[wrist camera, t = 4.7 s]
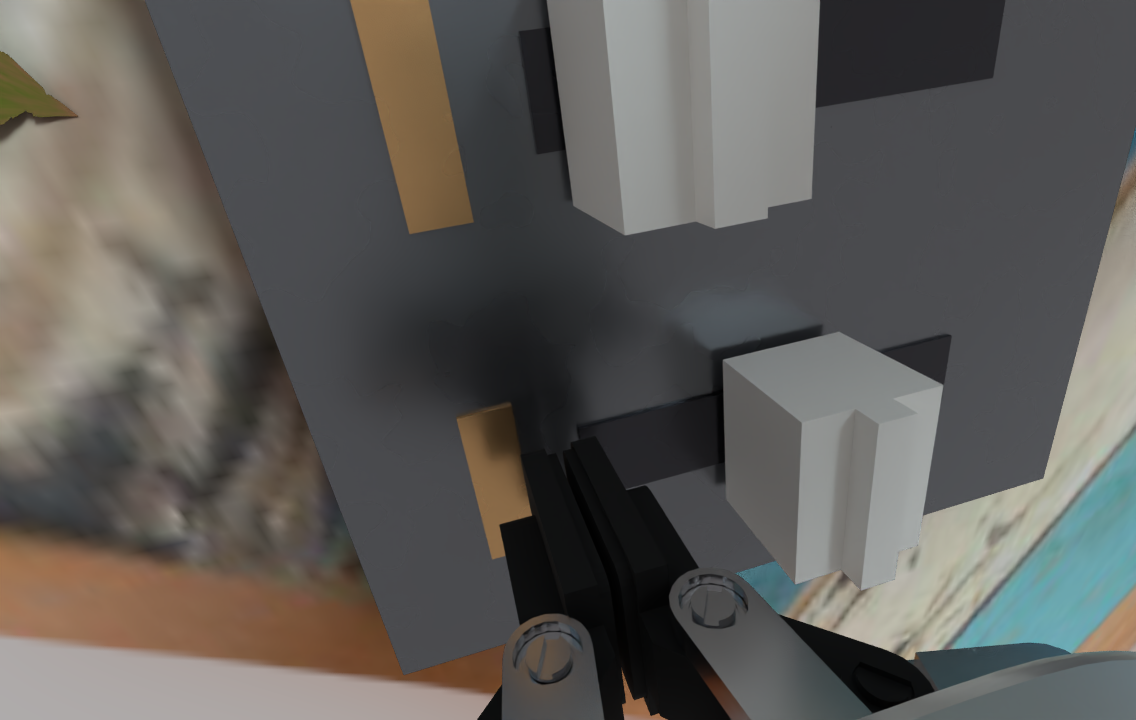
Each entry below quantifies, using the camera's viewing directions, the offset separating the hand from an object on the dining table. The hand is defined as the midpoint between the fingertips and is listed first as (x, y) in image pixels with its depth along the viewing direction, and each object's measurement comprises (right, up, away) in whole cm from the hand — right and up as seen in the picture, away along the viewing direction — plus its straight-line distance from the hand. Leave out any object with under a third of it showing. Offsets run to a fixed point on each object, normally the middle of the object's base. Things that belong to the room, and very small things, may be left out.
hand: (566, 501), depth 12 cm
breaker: (+1, +8, -2) cm, 8 cm away
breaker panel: (+4, +6, +2) cm, 7 cm away
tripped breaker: (+5, +2, +2) cm, 6 cm away
